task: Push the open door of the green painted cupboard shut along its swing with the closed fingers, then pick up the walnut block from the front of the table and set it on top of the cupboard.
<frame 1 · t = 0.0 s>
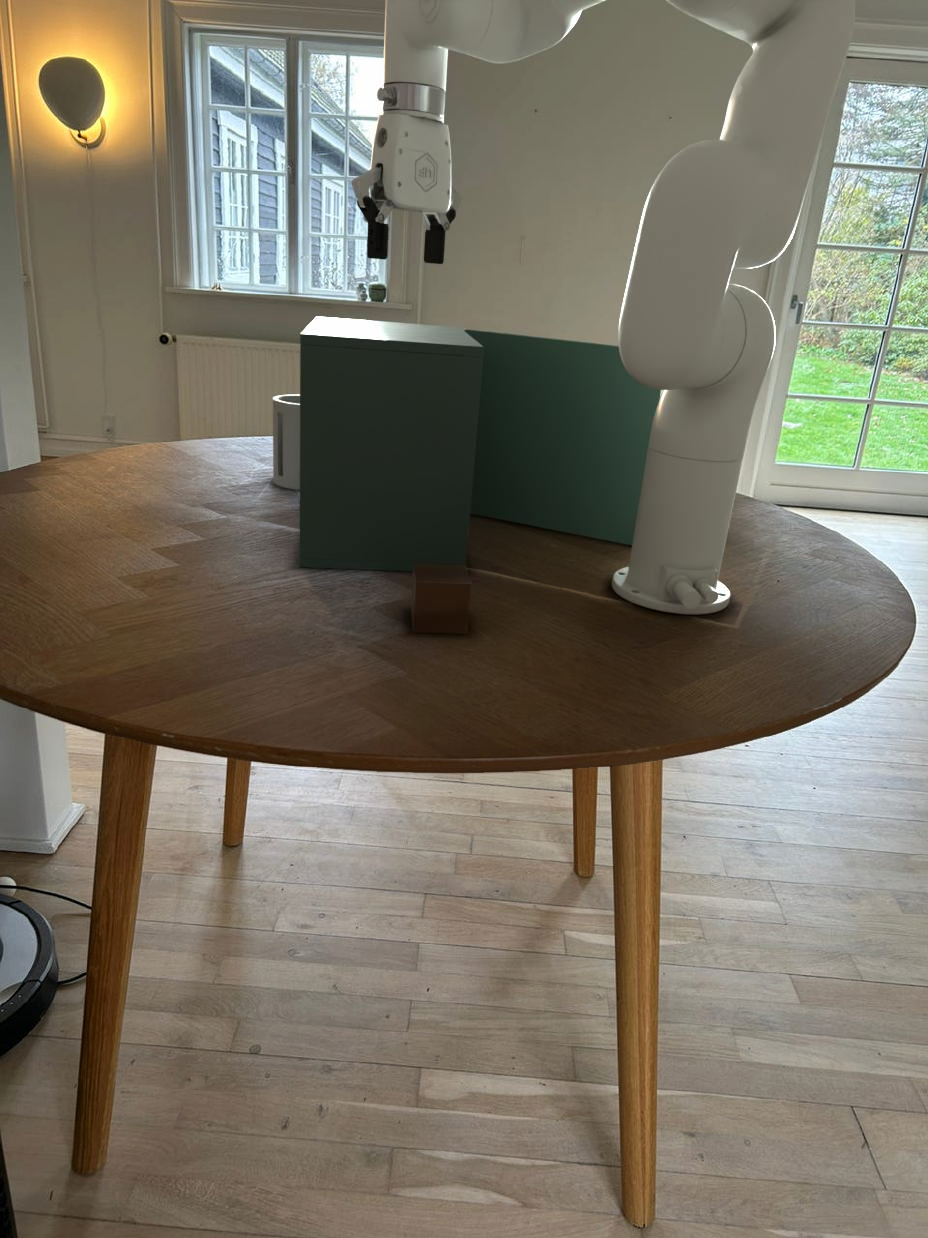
hand: (406, 260, 109), 31 cm above the table, tool pointing down, fingers open, 9 cm apart
door: (557, 434, 111), point 12 cm above the table, hinge at 60.0°
cup: (305, 484, 125), on the table
block: (438, 622, 81), on the table
coffee cup: (446, 470, 141), on the table
teapot: (608, 493, 135), on the table
cupboard: (382, 534, 105), on the table
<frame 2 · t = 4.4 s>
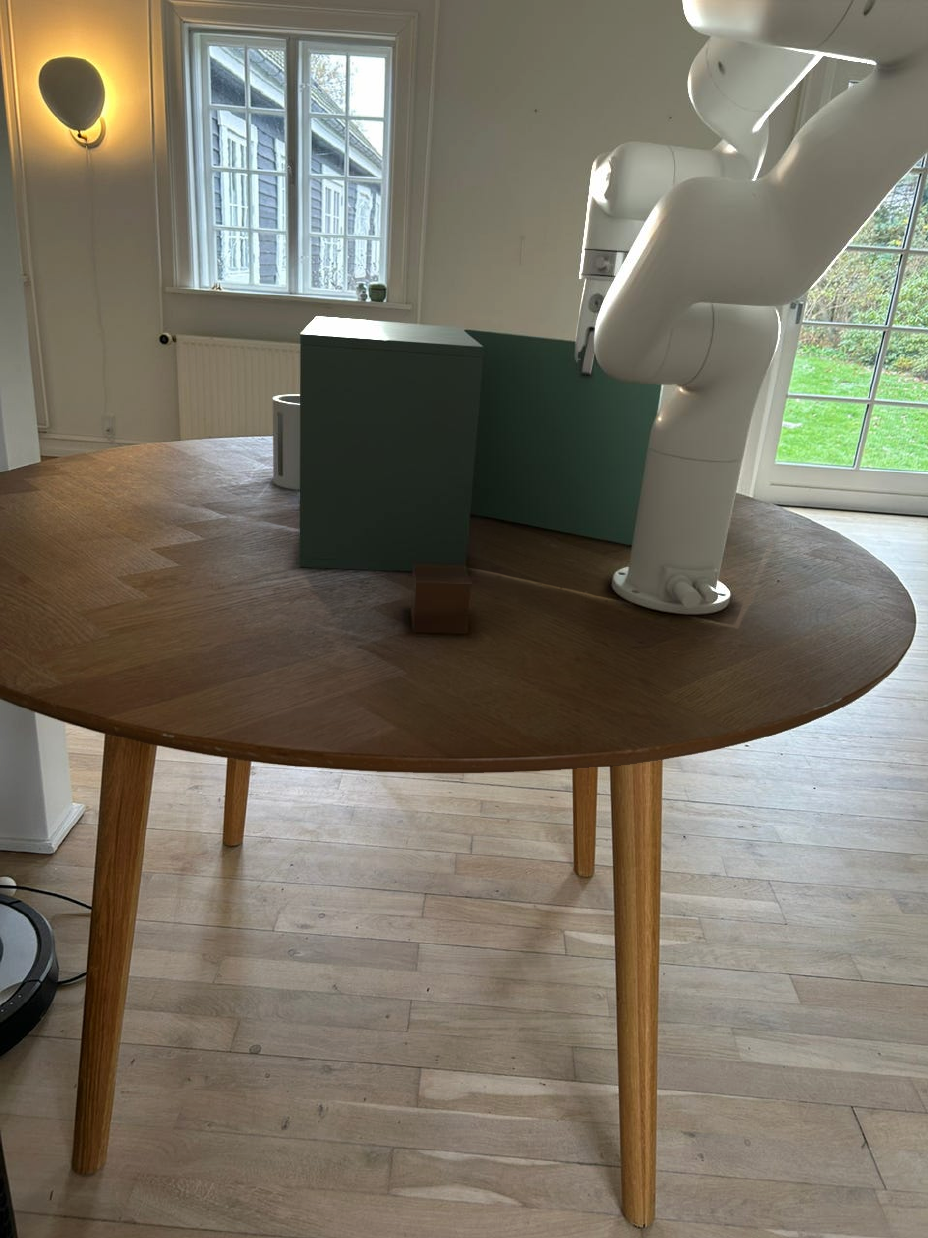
hand: (591, 422, 110), 14 cm above the table, tool pointing down, fingers closed
door: (557, 434, 111), point 12 cm above the table, hinge at 59.9°, touching gripper
everything else where it was.
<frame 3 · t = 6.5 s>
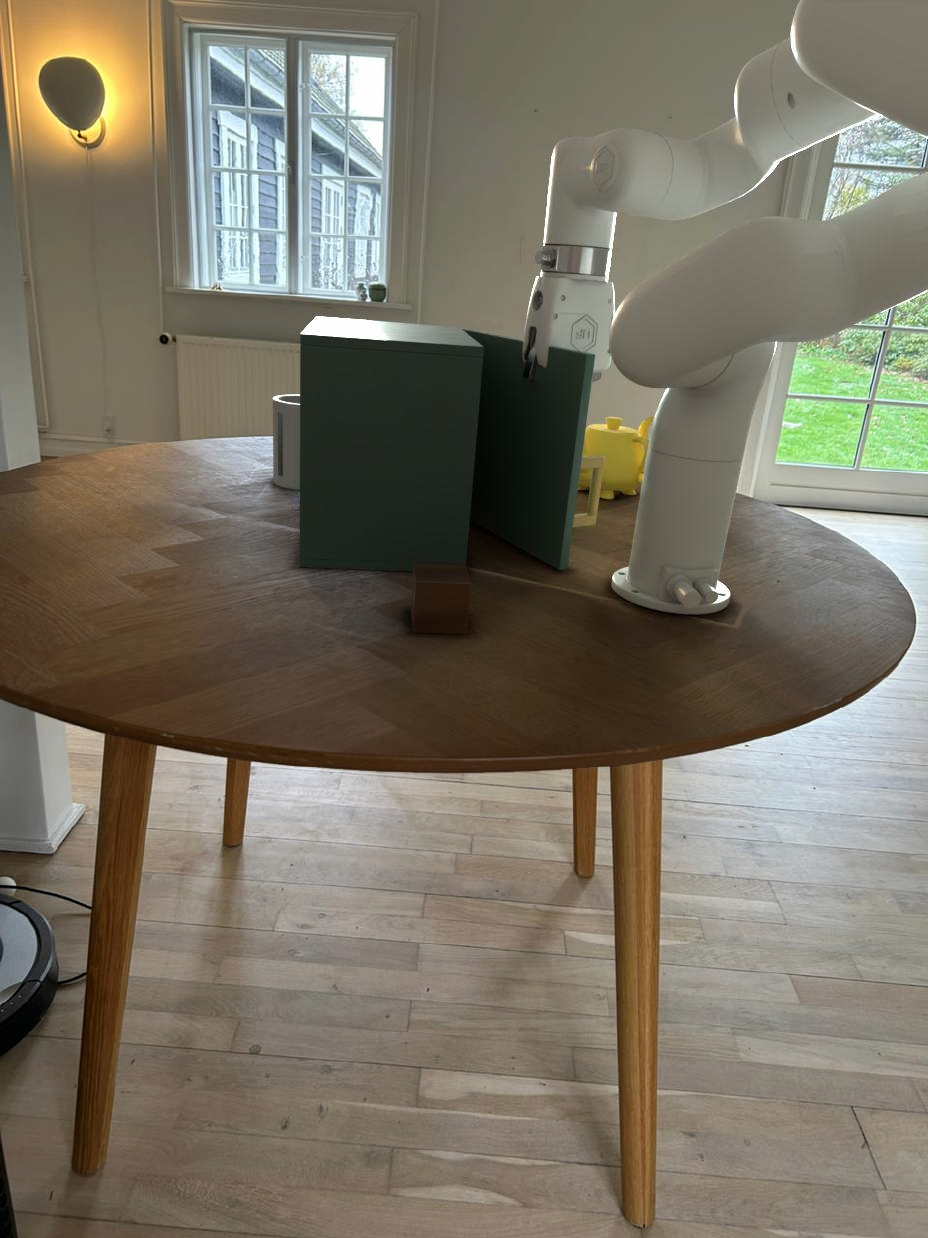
hand: (557, 431, 101), 14 cm above the table, tool pointing down, fingers closed
door: (529, 442, 104), point 12 cm above the table, hinge at 24.2°, touching gripper
everything else where it was.
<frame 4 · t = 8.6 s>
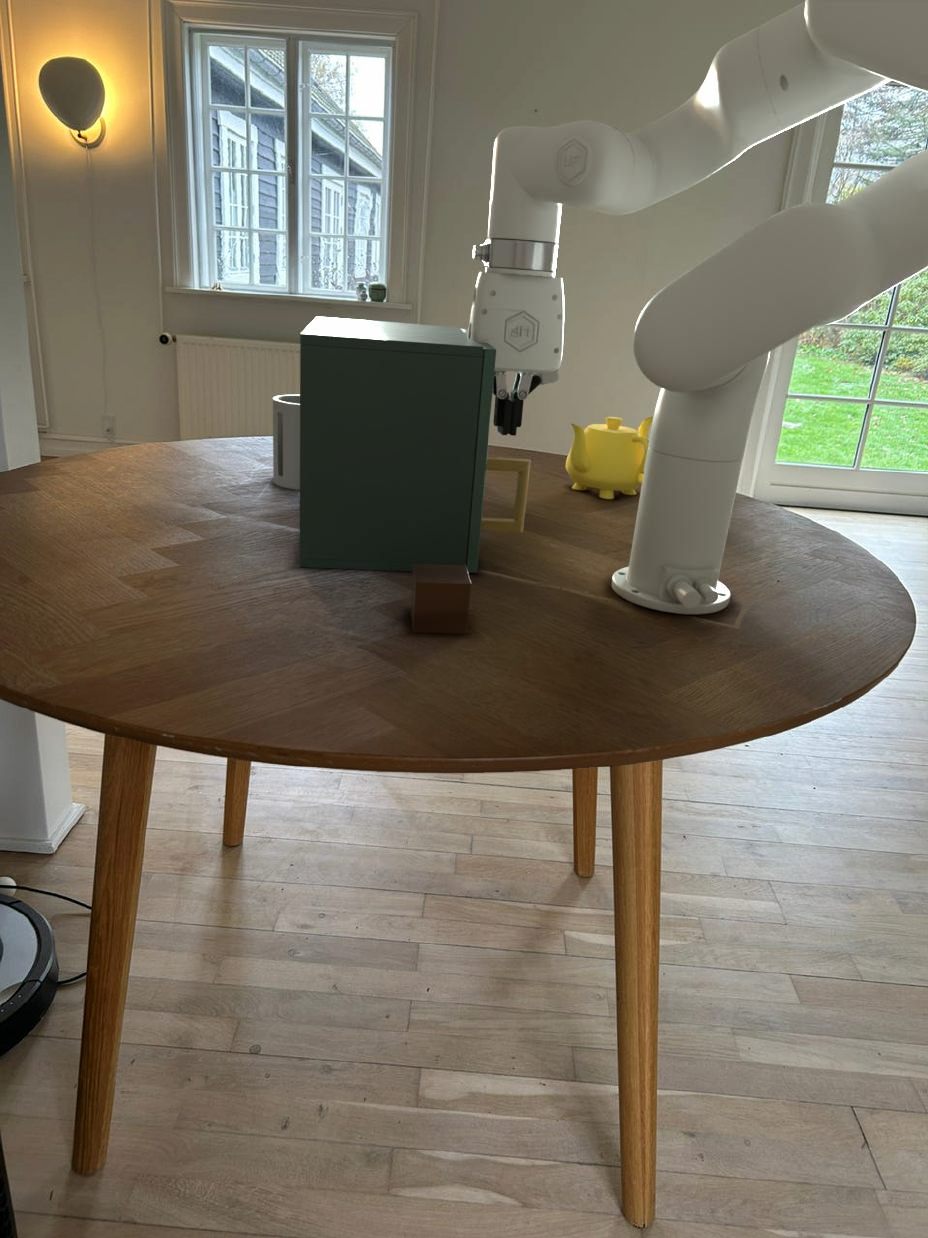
hand: (506, 432, 98), 14 cm above the table, tool pointing down, fingers closed
door: (489, 443, 101), point 12 cm above the table, hinge at -0.4°, touching gripper
everything else where it was.
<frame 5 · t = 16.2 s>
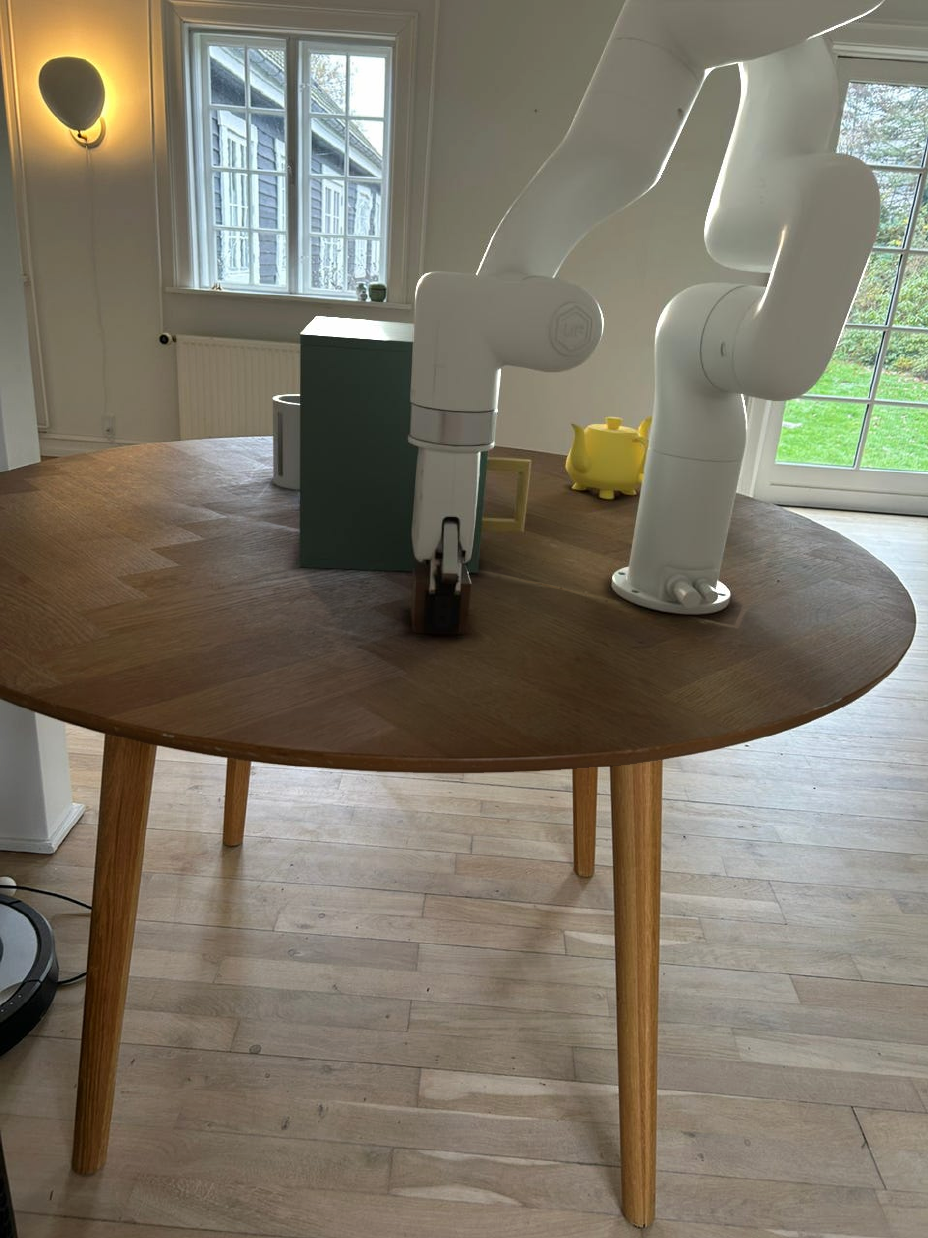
hand: (438, 618, 80), 0 cm above the table, tool pointing down, fingers closed on block, 5 cm apart
door: (490, 443, 102), point 12 cm above the table, hinge at -0.2°
block: (438, 622, 81), on the table, touching gripper
everything else where it was.
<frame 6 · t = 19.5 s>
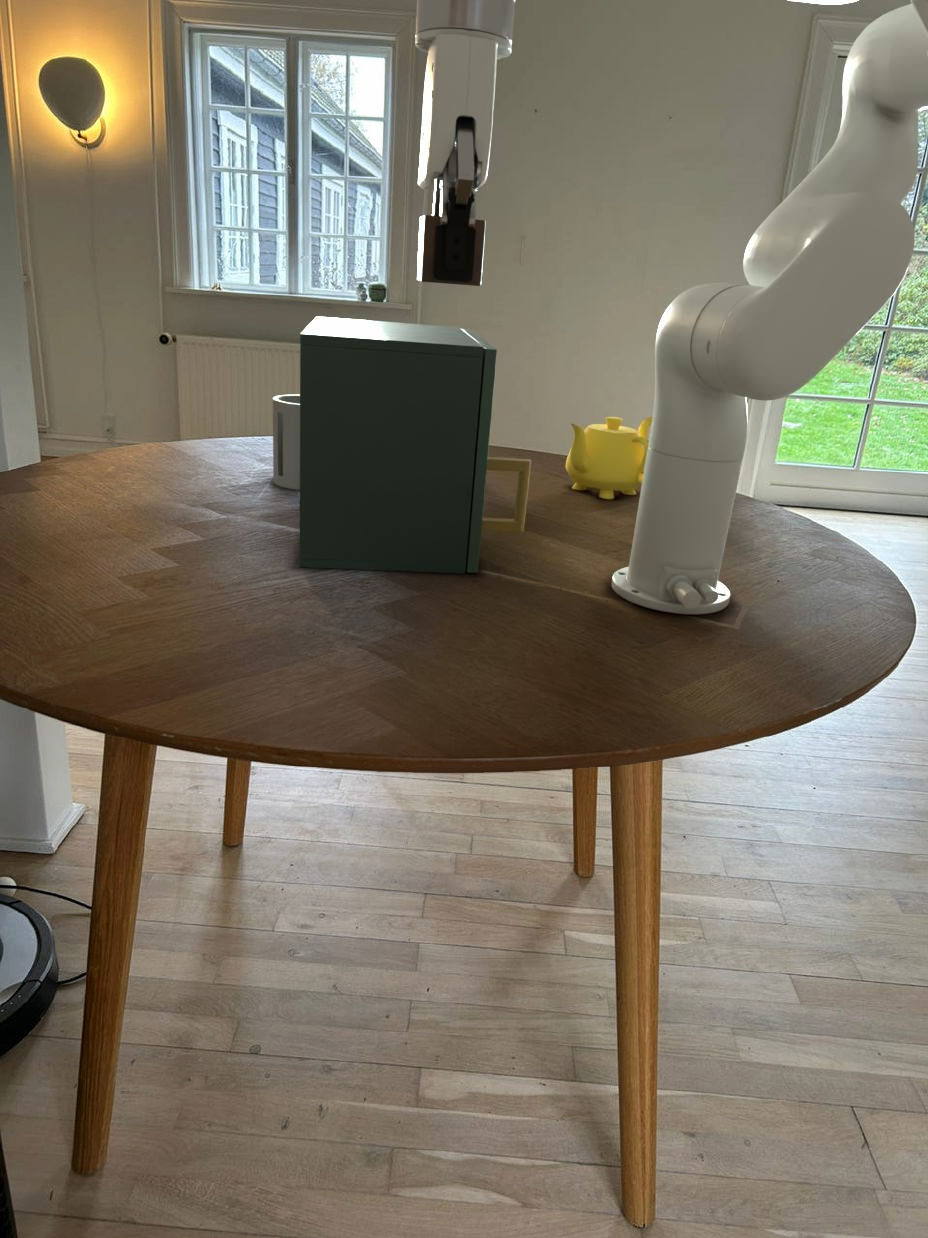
hand: (449, 277, 73), 30 cm above the table, tool pointing down, fingers closed on block, 5 cm apart
block: (448, 282, 73), point 30 cm above the table, touching gripper
everything else where it was.
when the fingers open (24 cm above the table, at t = 23.0 s): block stays where it is, resting on cupboard.
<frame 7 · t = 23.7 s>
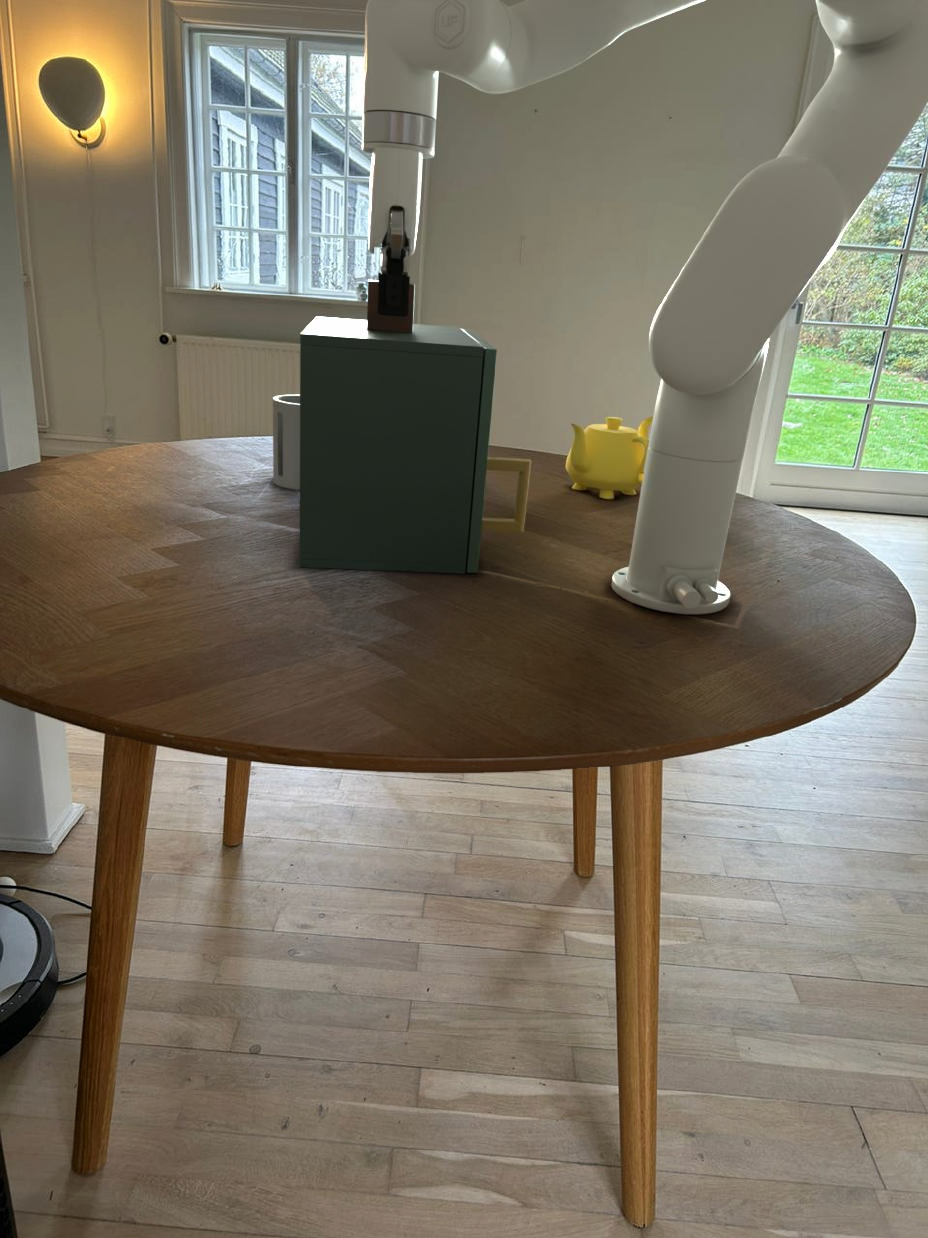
hand: (391, 312, 95), 26 cm above the table, tool pointing down, fingers open, 9 cm apart
block: (389, 329, 95), point 24 cm above the table, touching cupboard
everything else where it was.
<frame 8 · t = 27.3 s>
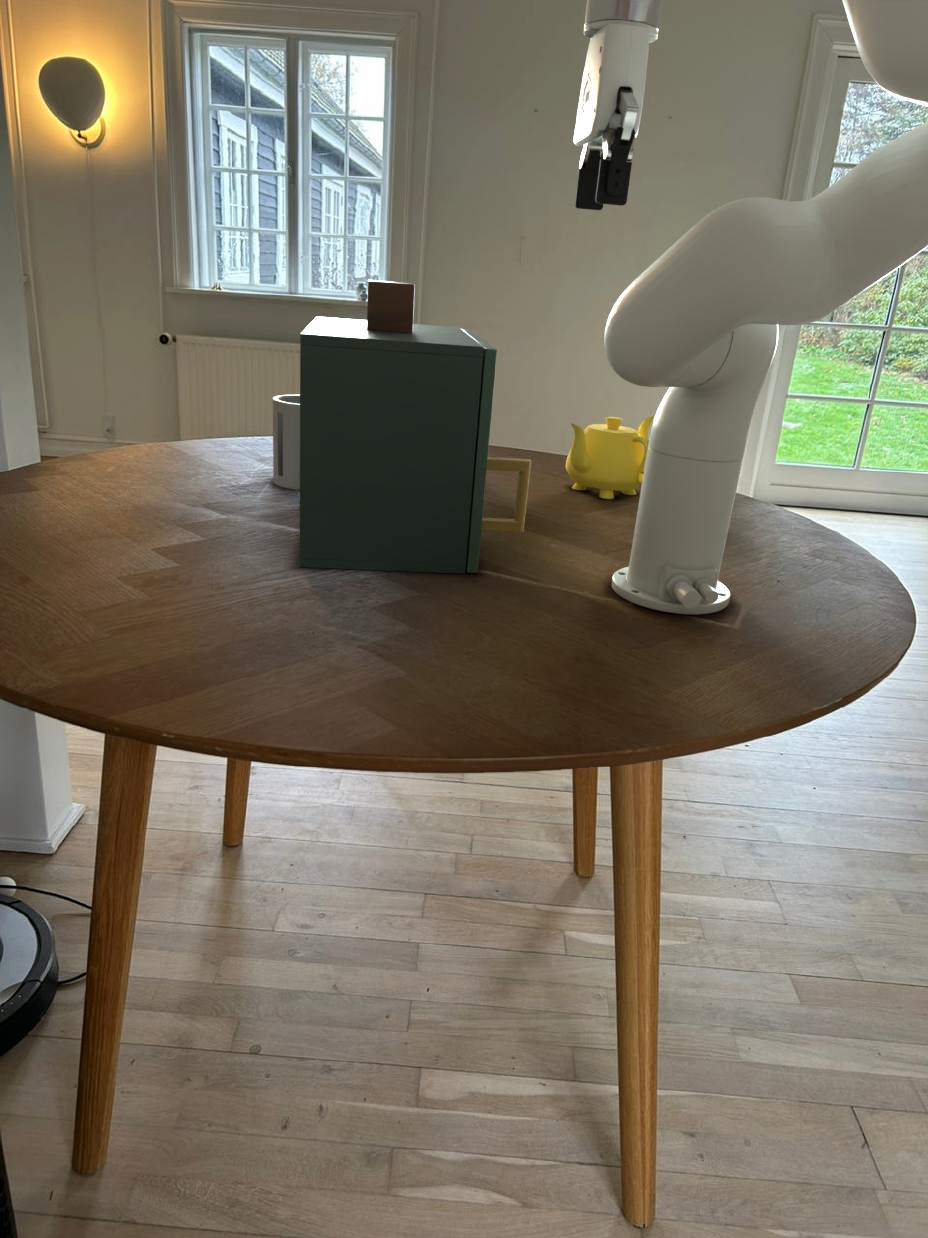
hand: (598, 206, 93), 38 cm above the table, tool pointing down, fingers open, 9 cm apart
nothing on the table moved.
at the end: door at +0° (first picture: +60°); block inside the target area on the cupboard (0.2 cm from its centre), point 24.0 cm above the cupboard's base; the gripper is holding nothing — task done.
